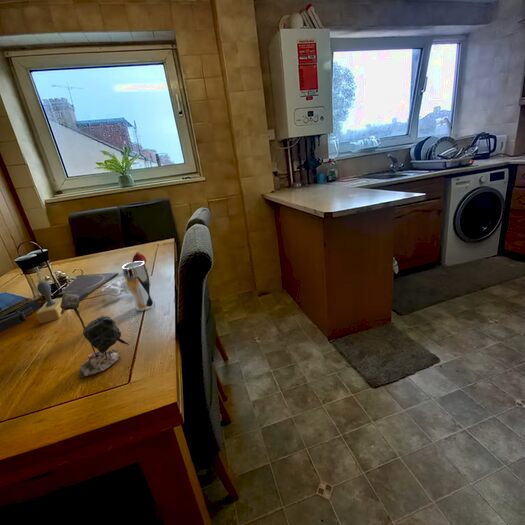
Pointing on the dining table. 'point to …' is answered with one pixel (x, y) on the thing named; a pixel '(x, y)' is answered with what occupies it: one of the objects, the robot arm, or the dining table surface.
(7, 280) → the dining table surface
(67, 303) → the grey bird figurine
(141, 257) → the onion
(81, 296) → the ink pad
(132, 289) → the beer glass
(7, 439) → the dining table surface
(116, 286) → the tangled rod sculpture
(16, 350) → the dining table surface
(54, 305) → the rubber stamp
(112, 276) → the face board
